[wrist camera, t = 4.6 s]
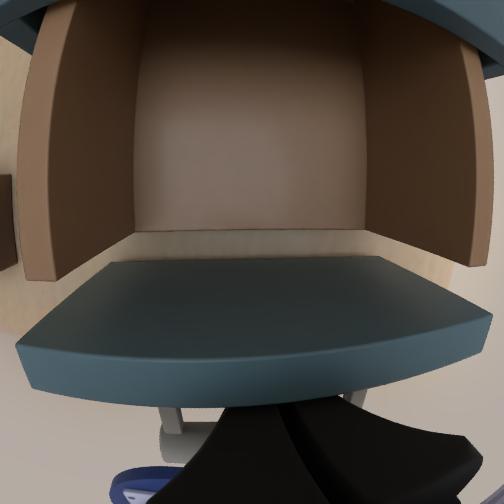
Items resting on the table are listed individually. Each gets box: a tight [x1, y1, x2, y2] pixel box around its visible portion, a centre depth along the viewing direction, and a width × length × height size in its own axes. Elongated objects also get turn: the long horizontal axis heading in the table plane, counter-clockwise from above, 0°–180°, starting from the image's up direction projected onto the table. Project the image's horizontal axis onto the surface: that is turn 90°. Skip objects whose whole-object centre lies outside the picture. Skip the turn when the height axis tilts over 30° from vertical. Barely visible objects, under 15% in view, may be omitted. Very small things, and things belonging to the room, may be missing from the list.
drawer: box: [15, 0, 494, 464], centre depth 7 cm, size 18×11×7 cm, turn 0°
